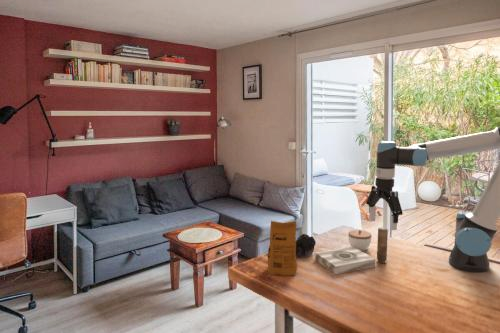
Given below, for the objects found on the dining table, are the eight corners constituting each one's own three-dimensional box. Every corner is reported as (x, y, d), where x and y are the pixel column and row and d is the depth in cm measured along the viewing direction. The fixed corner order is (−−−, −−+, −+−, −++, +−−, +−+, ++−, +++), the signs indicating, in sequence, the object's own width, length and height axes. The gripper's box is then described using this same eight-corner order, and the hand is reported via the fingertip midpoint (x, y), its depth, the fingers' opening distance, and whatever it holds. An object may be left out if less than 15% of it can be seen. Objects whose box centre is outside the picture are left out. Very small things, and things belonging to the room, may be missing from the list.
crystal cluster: (280, 255, 177) (280, 236, 174) (296, 244, 187) (296, 226, 184) (304, 264, 168) (304, 244, 166) (319, 253, 178) (320, 234, 176)
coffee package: (268, 265, 163) (268, 217, 160) (297, 267, 161) (297, 218, 158) (266, 275, 153) (265, 224, 150) (296, 277, 151) (297, 225, 148)
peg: (388, 262, 164) (390, 230, 162) (381, 264, 163) (382, 231, 161) (382, 259, 168) (383, 227, 166) (374, 260, 167) (376, 228, 164)
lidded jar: (373, 252, 176) (374, 233, 175) (351, 252, 176) (351, 233, 175) (367, 244, 187) (367, 226, 185) (345, 244, 187) (346, 226, 186)
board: (375, 266, 161) (375, 258, 160) (335, 274, 154) (335, 266, 153) (352, 253, 175) (352, 246, 175) (315, 260, 168) (315, 252, 168)
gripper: (359, 173, 170) (357, 218, 173) (399, 183, 147) (396, 235, 150) (372, 172, 173) (370, 216, 176) (414, 182, 150) (410, 233, 153)
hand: (382, 225), depth 163 cm, fingers open, 13 cm apart
